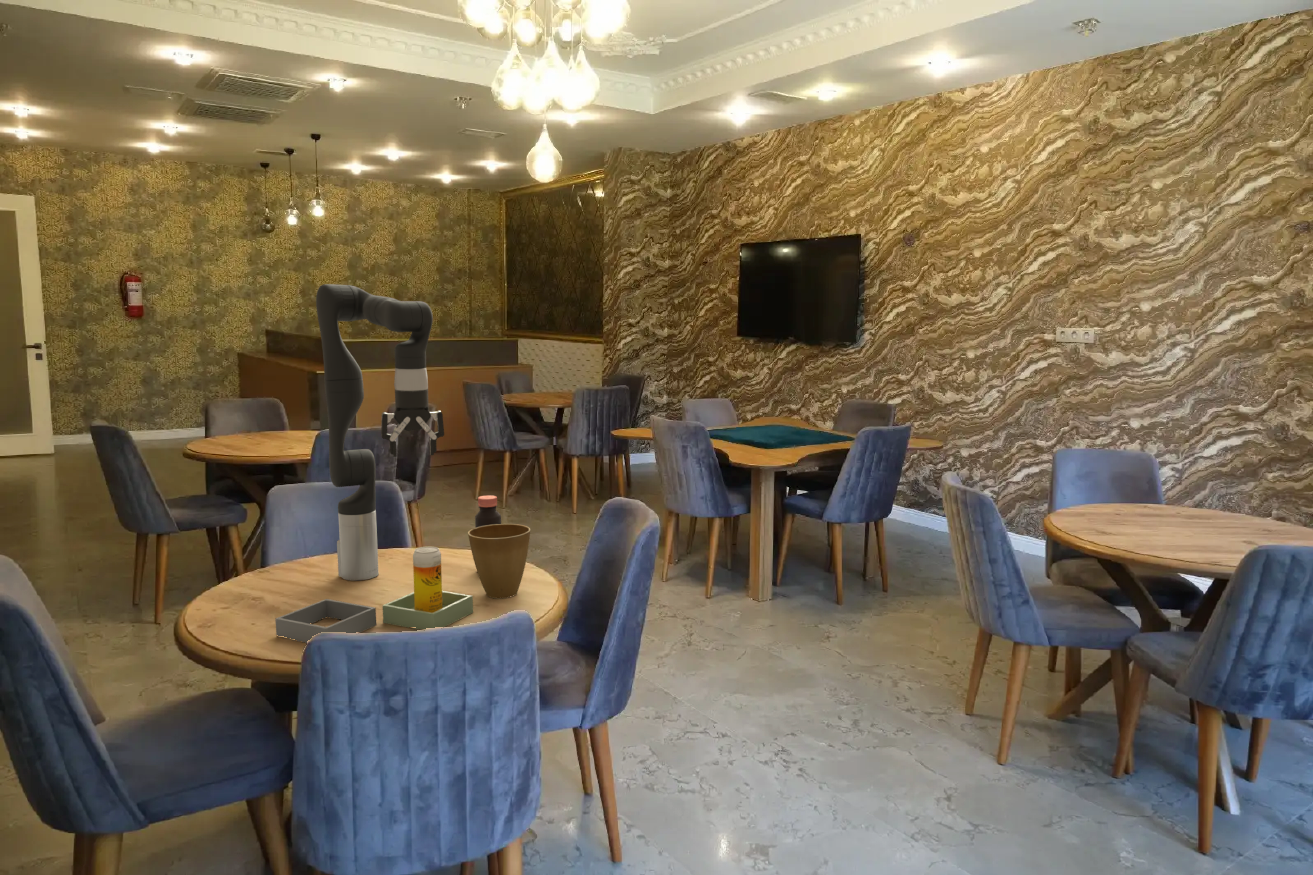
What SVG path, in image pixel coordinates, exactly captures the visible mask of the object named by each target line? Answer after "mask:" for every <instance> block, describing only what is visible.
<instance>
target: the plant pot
mask: <svg viewBox="0 0 1313 875" xmlns="http://www.w3.org/2000/svg"><path fill="white" fill-rule="evenodd" d="M467 535H468V540H469V545H470V550H471V554H472V559H473V563H474V566H475V570H476V571H477V574H478V577H479V580H480V584H481V585H482V587H483V591H484V593H485V594H486V596H487V597H489V598H490V599H491V598H492V599H506V598H507V597H508V598H511V597H510V596H512V597H514V596H516V595H517V594H518V591H519V588H520V585H521V582H522V579H523V575H524V571H525V568H526V562H527V557H528V554H529V553H528V551H529V547H530V546H529V545H530V540H531V539H530V538H531V528H530V527H529V526H527V525H523V524H517V523H501V524H494V525H486V526H481V527H477V528H471V529H470V530H469V531H467ZM513 595H514V596H513Z"/></svg>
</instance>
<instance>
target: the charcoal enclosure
mask: <svg viewBox="0 0 1313 875" xmlns="http://www.w3.org/2000/svg"><path fill="white" fill-rule="evenodd" d="M326 617H327V618H329V617H330V618H329V619H334V618H337V619H336V620H339V619H341V620H339V621H337V622H334V623H333V624H330V625H328V626H323V625H317V624H314V623H316V621H317V622H319V621H321V620H320V619H322V618H324V619H326ZM318 620H319V621H318ZM322 620H323V619H322ZM310 623H312V624H310ZM375 626H377V608H376V607H374V606H368V605H363V604H362V605H361V604H358V603H352V602H346V601H340V600H334V599H330V598H326V599H322V600H320V601H317V602H315V603H312V604H310V605H307V606H304V607H301V608H299V609H296V610H294V611H291V612H289V613H286V614H284V615H281V616H278V617H276V618H275V635H278V636H284V637H287V638H291V639H295V640H297V641H296V642H300V641H302V642H301V643H304V642H305V644H308V643H307V641H308V640H310V639H311V638H312V636H314V635H316V634H318V633H321V632H346V633H356V632H360V633H362V632H365V631H367V630H368V629H371V628H374V627H375ZM364 630H365V631H364ZM295 640H294V641H295Z"/></svg>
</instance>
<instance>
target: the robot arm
mask: <svg viewBox="0 0 1313 875" xmlns="http://www.w3.org/2000/svg"><path fill="white" fill-rule="evenodd" d="M315 305H316V306H315V307H316V314H317V315H316V316H317V321H318V326H319V332H320V338H321V340H320V341H321V347H322V355H323V356H322V358H323V370H324V371H323V373H324V374H323V375H324V376H323V377H324V392H325V400H326V411H327V417H328V418H327V420H328V422H327V423H328V454H329V455H328V462H329V468H328V469H329V475H330V480H331V483H332V485H333V486H334V487H336V488H347V487H357V486H359V488H358V489H357V490H356V491H355V492H354V493H352V494H351V495H349V496H346V497H344V498H343V499H341V500H339V501H338V503H337V514H338V530H339V532H338V533H339V534H338V535H339V539H338V540H337V541H336V549H337V553H336V555H337V570H338V571H337V572H338V577H341V578H342V579H343V580H346V581H364V580H370V579H372V578H375V577H377V576H379V553H378V552H379V551H378V533H377V531H378V530H377V511H376V509H377V508H376V503H377V502H376V501H377V500H376V496H377V493H376V476H377V475H376V473H377V472H376V471H377V470H376V459H375V456H374V453H373V451H372V450H371V449H368V448H363V449H361V448H360V449H349V450H348V449H347V450H345V441H346V437H347V433H348V430H349V428H350V426H351V424H352V422H353V420H354V418H355V417H356V416H357V414H358V412H359V411H360V409H361V406H362V404H363V402H364V399H365V398H364V397H365V393H364V391H365V389H364V380H363V379H364V378H363V372H362V370H361V367H360V366H359V364H358V363H357V361H356V359H355V357H354V356H353V355H352V354H351V352H350V351H349V350H348V348H347V346H346V344H345V343H344V341H343V338H342V336H341V332H340V328H339V322H354V321H361V320H367V322H370V323H371V324H373V325H375V326H376V325H377V326H381V327H384V328H386V329H387V330H389V331H391V332H396V333H411V334H410V336H409V338H408V340H406V341H402V342H399V343H397V344H396V345H395V347H394V367H395V368H394V382H393V385H394V400H395V401H394V402H395V403H394V404H395V411H394V412H393V413H388V412H385V411H384V412H382V413H381V420H380V422H381V426H380V428H381V429H380V435H381V439H383V440H388V441H389V453H390V454H391V455H392V457H393V458H397V441H396V439H397V438H398V436H399V435H401V433H402V432H403V431H406V432H410V431H416V432H417V431H421V430H424V431H425V432H426V434H428V436H429V437H430V438H429V455H430V456H435V453H437V439H439V438H441V437H445V427H444V415H443V412H442V411H441V410H437V411H430V410H429V381H428V380H429V379H428V371H427V347H428V344H429V343H428V342H429V338H430V335H431V334H430V333H431V330H432V326H433V321H434V316H433V311H432V309H431V307H430V306H429V304H428V303H426V302H424V301H419V300H418V301H417V300H416V301H415V300H413V301H412V300H411V301H410V300H408V301H407V300H406V301H405V300H402V301H401V300H398V299H396V298H393V297H389V296H383V295H374V294H371V293H369V292H367V291H365V290H364V289H362V288H360V287H358V286H354V285H351V284H333V283H327V284H325V283H324V284H322V285H319V287H318V289H317V291H316V296H315ZM431 418H433V420H434V421H435V422H436V425H437V431H435V432H434V431H433V430H432V429H431V428H430V426H429V425H428V424H427V423H429V420H430V419H431ZM392 419H394V420H395V421H396V423H397V425H396V426H395V427H394V429H393V431H392V432H391V433H388V423H391V421H392Z"/></svg>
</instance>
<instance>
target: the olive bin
mask: <svg viewBox="0 0 1313 875" xmlns="http://www.w3.org/2000/svg"><path fill="white" fill-rule="evenodd" d="M473 601H474V600H473V595H472V594H471V595H470V594H466V593H465V594H464V593H459V592H454V591H453V592H451V591H446V590H442V609H440V610H438V611H436V612H434V613H430V612H425V611H419V610H415V604H414V591H413V592H410V593H408V594H407V595H403V596H401V597H399V598H396V599H393V600H392V601H390V602H387V603H385V604H382V623H383V624H389V625H392V626H393V625H394V626H398V627H404V628H409V627H416V628H413V629H414V630H419V629H426V628H435V627H443V628H445V627H447V626H450V625H452V624H453V623H455V622H457V621H459V620H461V619H463V618H465V617H466V616H469V615H471V614H473V613H474V602H473Z"/></svg>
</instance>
